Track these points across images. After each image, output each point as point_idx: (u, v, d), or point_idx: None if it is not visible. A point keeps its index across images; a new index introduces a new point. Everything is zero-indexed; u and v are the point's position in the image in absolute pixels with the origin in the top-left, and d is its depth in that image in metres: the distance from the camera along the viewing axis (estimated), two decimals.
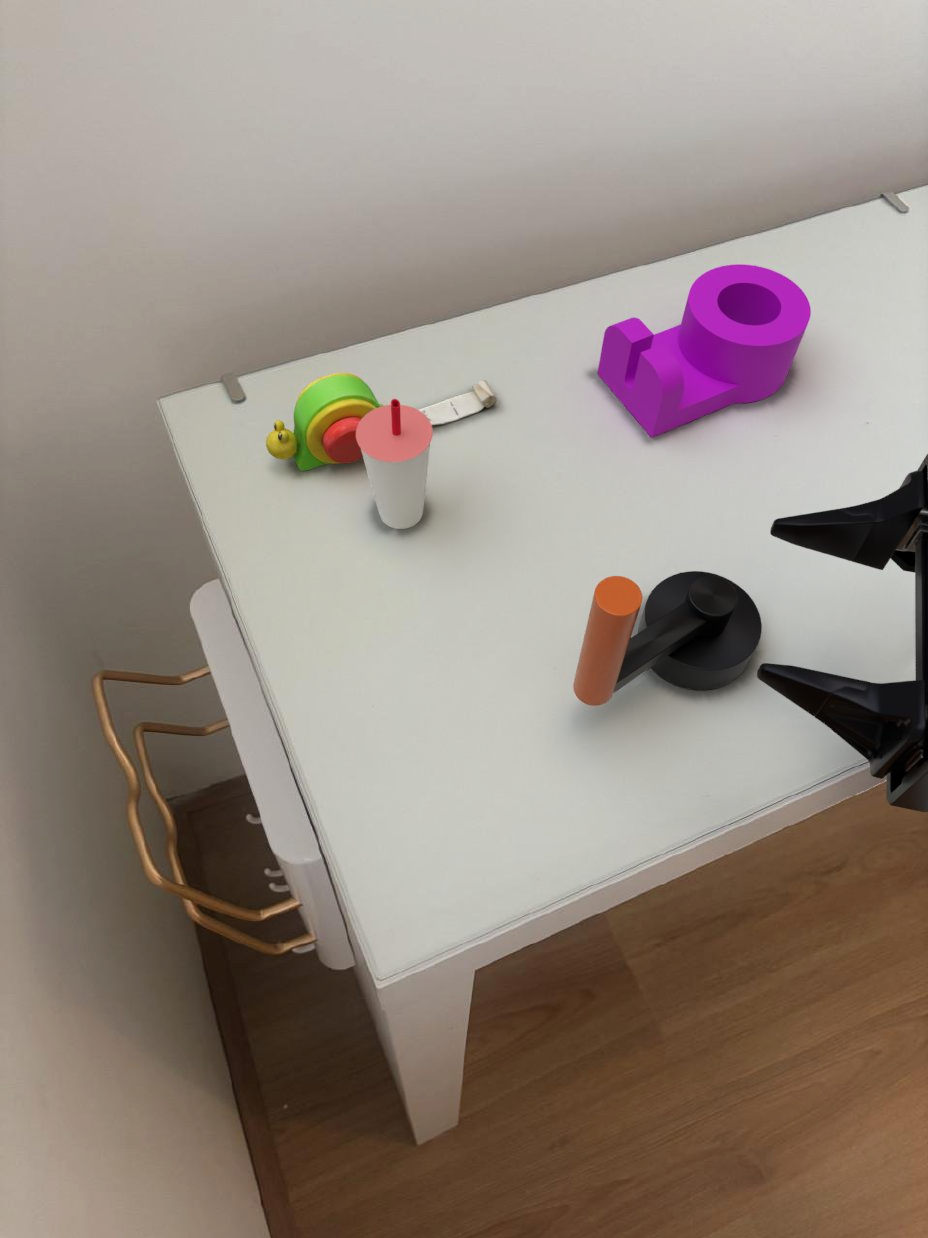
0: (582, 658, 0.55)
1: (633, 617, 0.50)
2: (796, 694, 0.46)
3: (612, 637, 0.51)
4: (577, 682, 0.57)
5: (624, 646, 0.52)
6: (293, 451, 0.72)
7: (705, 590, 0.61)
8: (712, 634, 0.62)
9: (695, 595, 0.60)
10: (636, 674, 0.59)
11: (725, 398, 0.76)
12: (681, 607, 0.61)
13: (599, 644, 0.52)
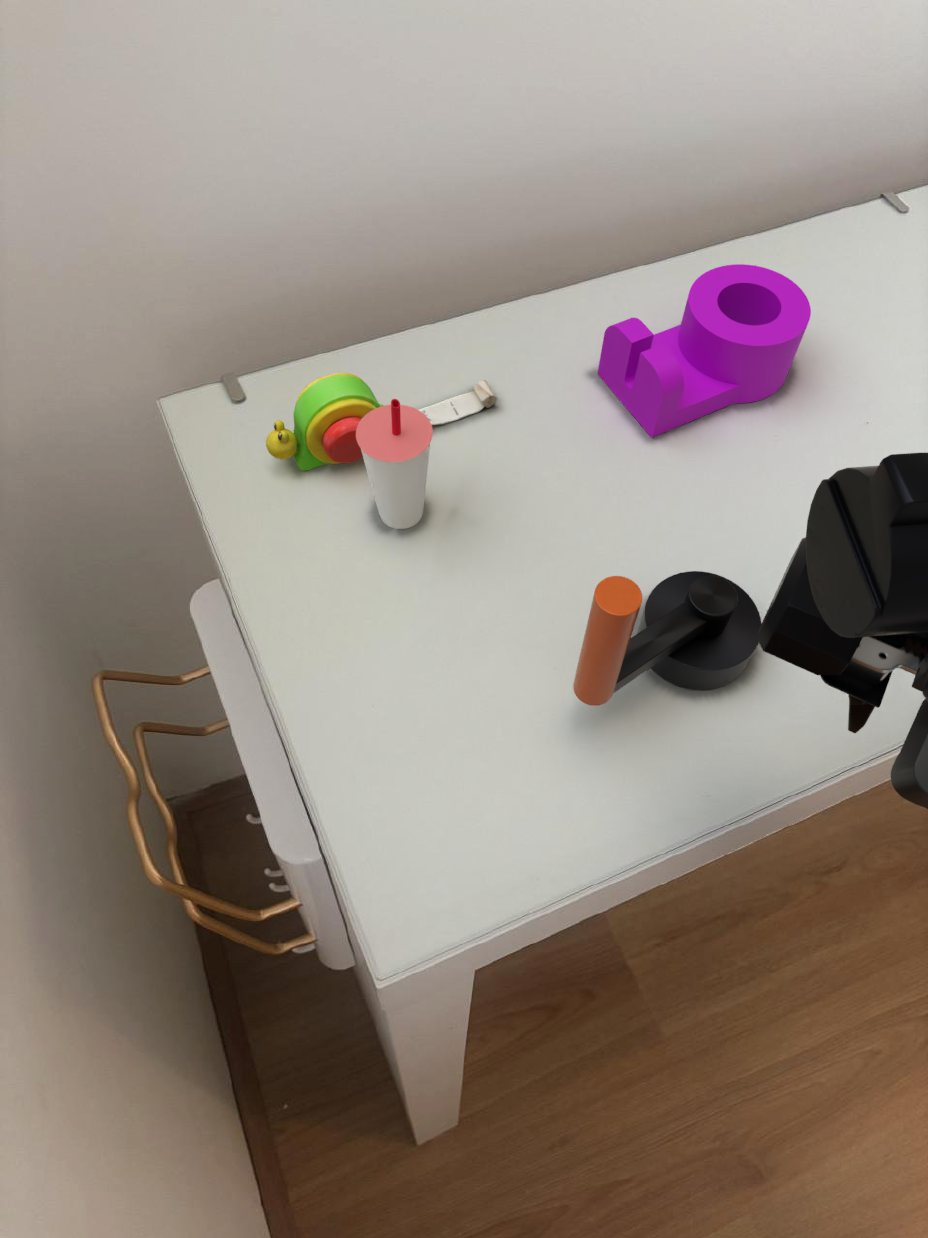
0: (582, 658, 0.55)
1: (633, 617, 0.50)
2: None
3: (612, 637, 0.51)
4: (577, 682, 0.57)
5: (624, 646, 0.52)
6: (293, 451, 0.72)
7: (705, 590, 0.61)
8: (712, 634, 0.62)
9: (695, 595, 0.60)
10: (636, 674, 0.59)
11: (725, 398, 0.76)
12: (681, 607, 0.61)
13: (599, 644, 0.52)
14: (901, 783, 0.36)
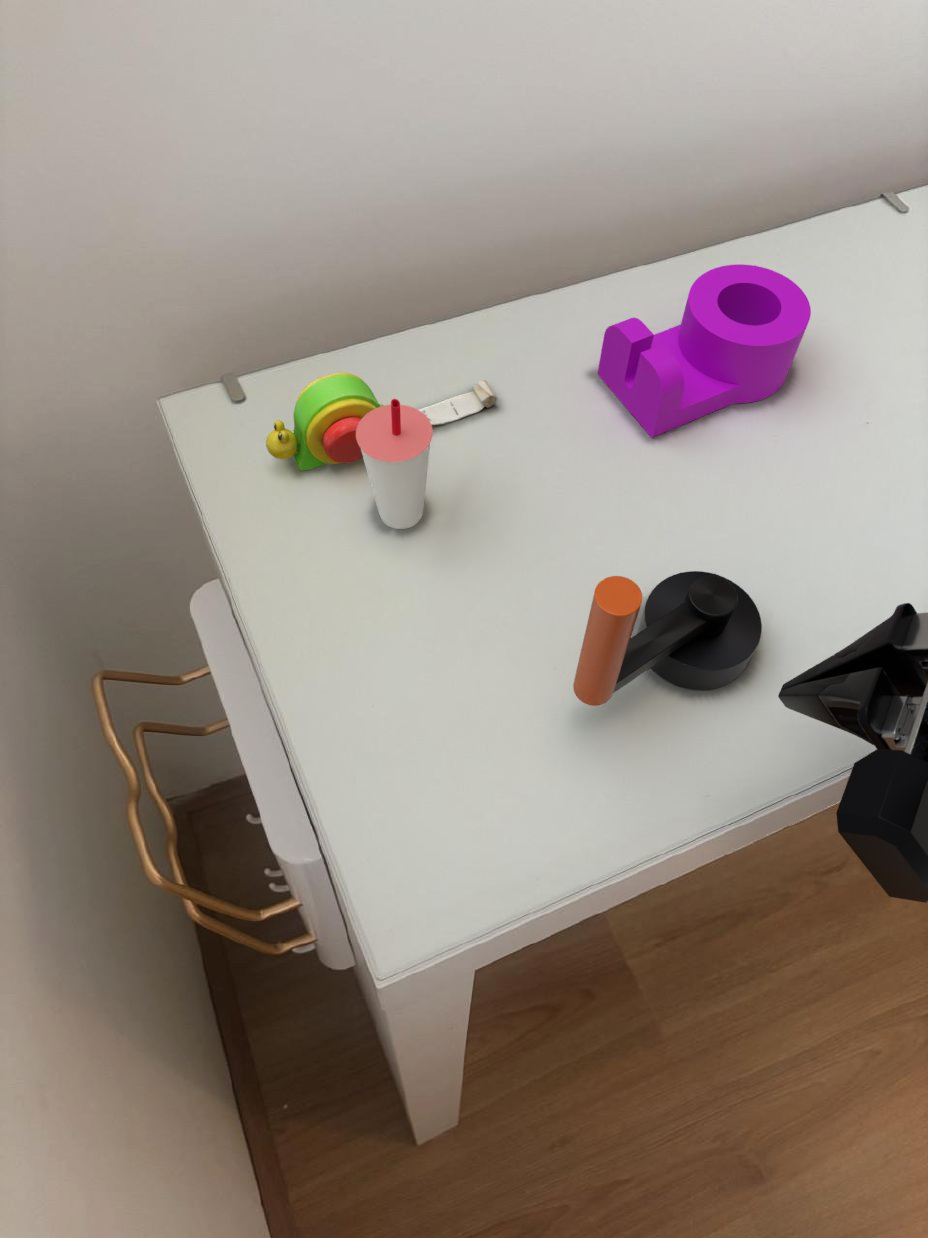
0: (582, 658, 0.55)
1: (633, 617, 0.50)
2: None
3: (612, 637, 0.51)
4: (577, 682, 0.57)
5: (624, 646, 0.52)
6: (293, 451, 0.72)
7: (705, 590, 0.61)
8: (712, 634, 0.62)
9: (695, 595, 0.60)
10: (636, 674, 0.59)
11: (725, 398, 0.76)
12: (681, 607, 0.61)
13: (599, 644, 0.52)
14: None
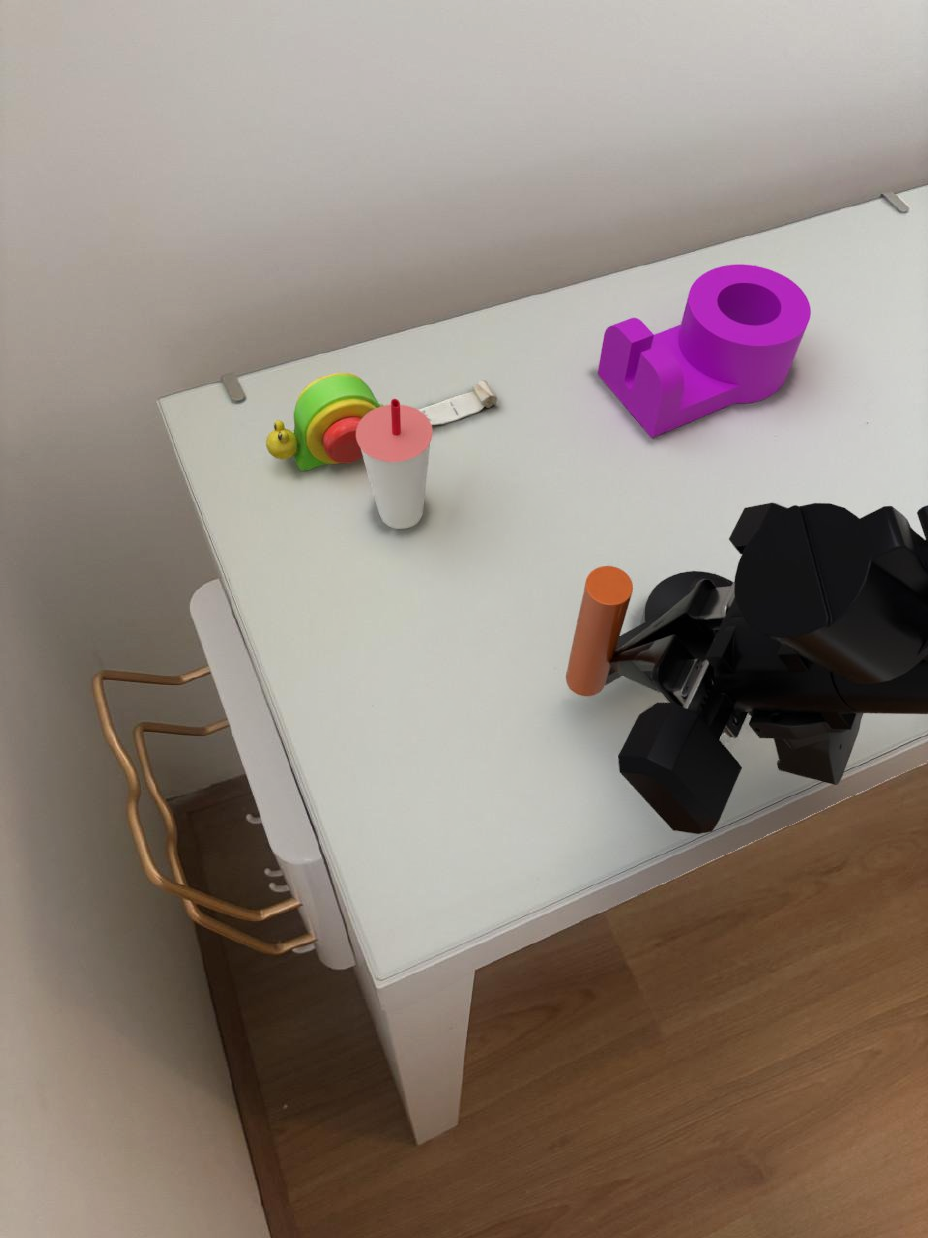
0: (573, 647, 0.55)
1: (622, 608, 0.50)
2: None
3: (601, 626, 0.51)
4: (569, 671, 0.58)
5: (614, 637, 0.53)
6: (293, 451, 0.72)
7: None
8: None
9: None
10: None
11: (725, 398, 0.76)
12: None
13: (589, 634, 0.52)
14: (803, 776, 0.51)
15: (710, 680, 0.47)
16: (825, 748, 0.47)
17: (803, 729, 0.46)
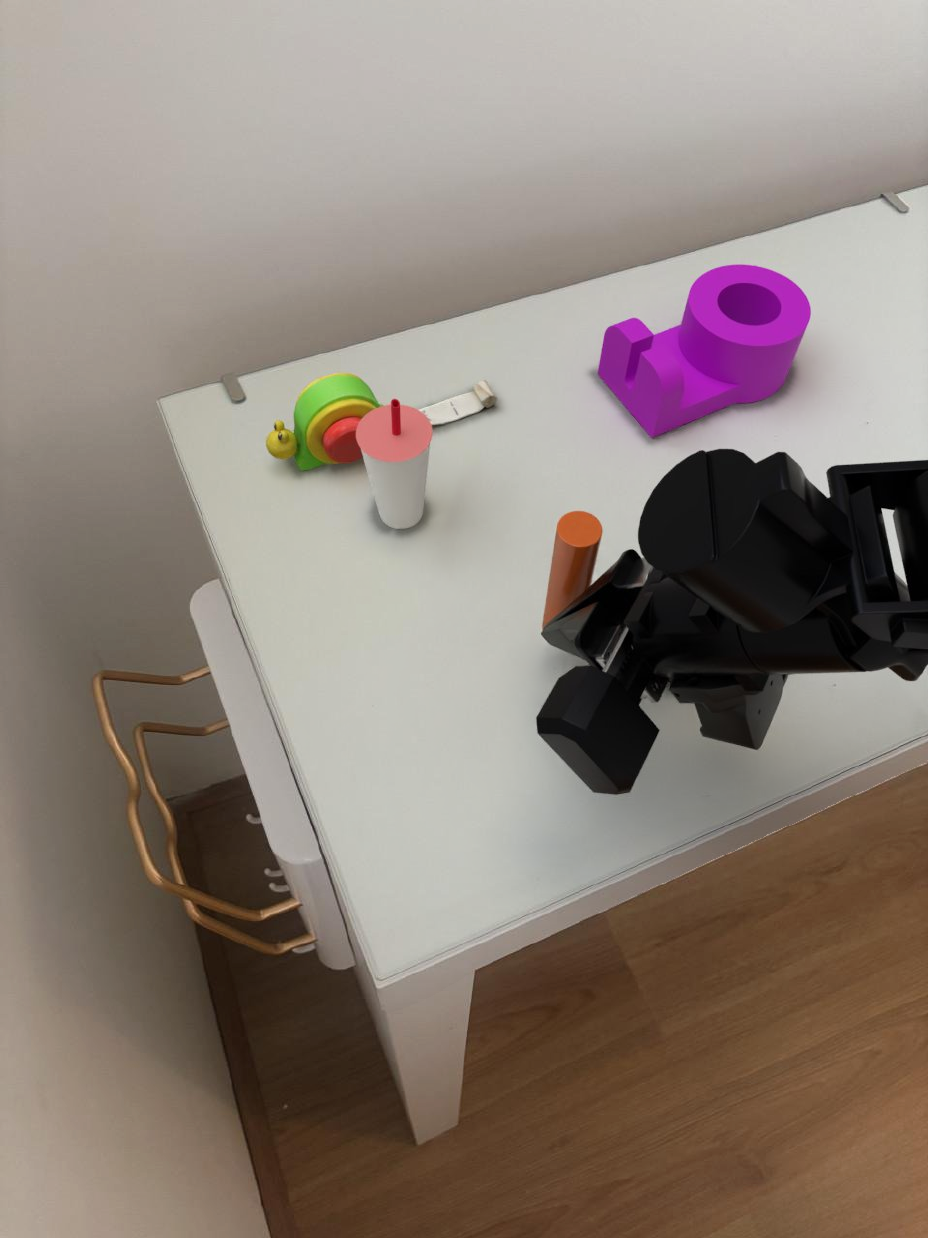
0: None
1: (584, 553, 0.52)
2: None
3: (564, 567, 0.53)
4: None
5: (578, 584, 0.55)
6: (293, 451, 0.72)
7: None
8: None
9: None
10: None
11: (725, 398, 0.76)
12: None
13: (555, 572, 0.55)
14: None
15: (630, 646, 0.48)
16: (742, 712, 0.48)
17: (719, 692, 0.47)
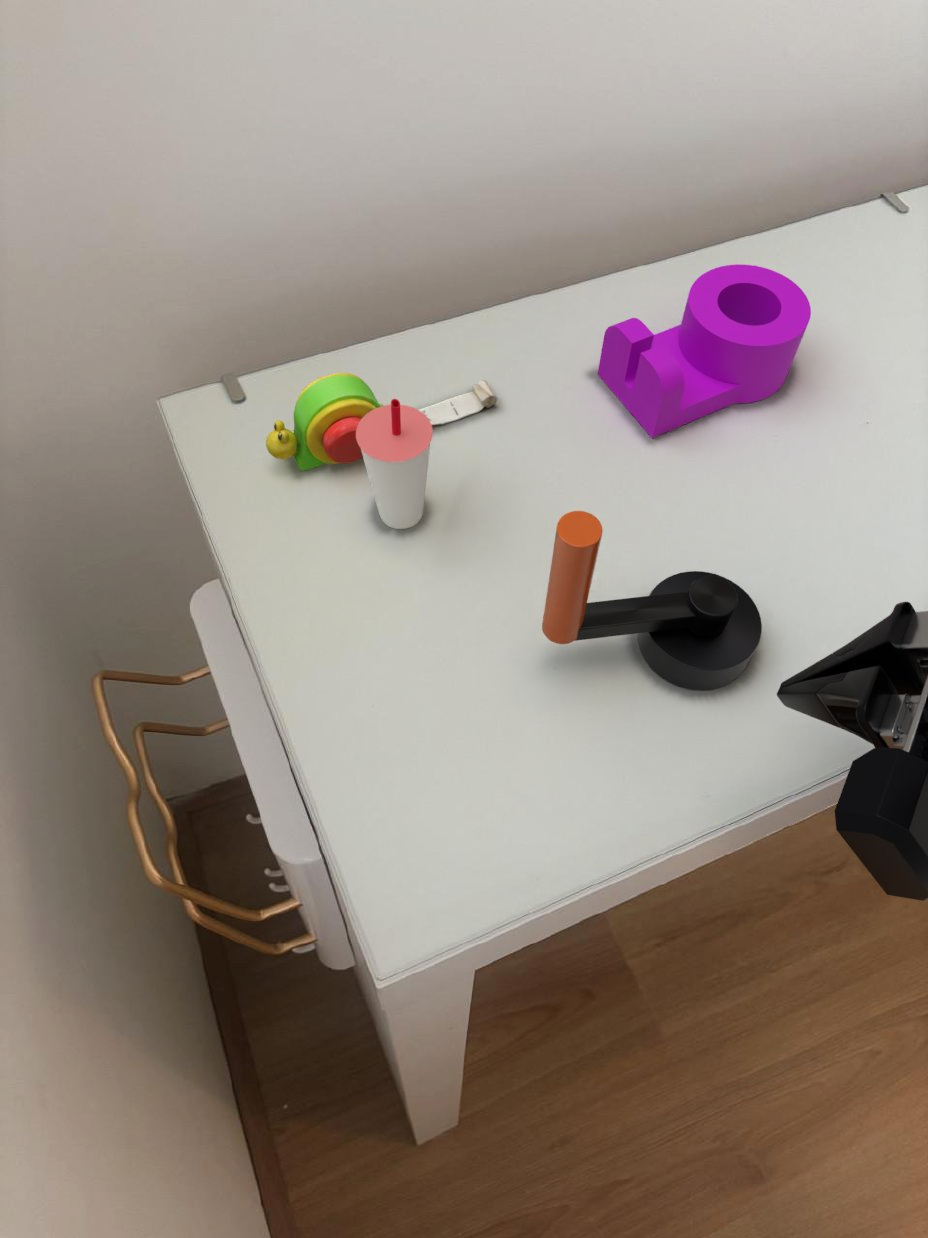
0: None
1: (584, 553, 0.52)
2: None
3: (564, 567, 0.53)
4: None
5: (578, 584, 0.55)
6: (293, 451, 0.72)
7: (708, 588, 0.61)
8: (700, 633, 0.62)
9: (696, 588, 0.61)
10: (605, 633, 0.61)
11: (725, 398, 0.76)
12: (679, 594, 0.61)
13: (555, 572, 0.55)
14: None
15: (927, 720, 0.41)
16: None
17: None
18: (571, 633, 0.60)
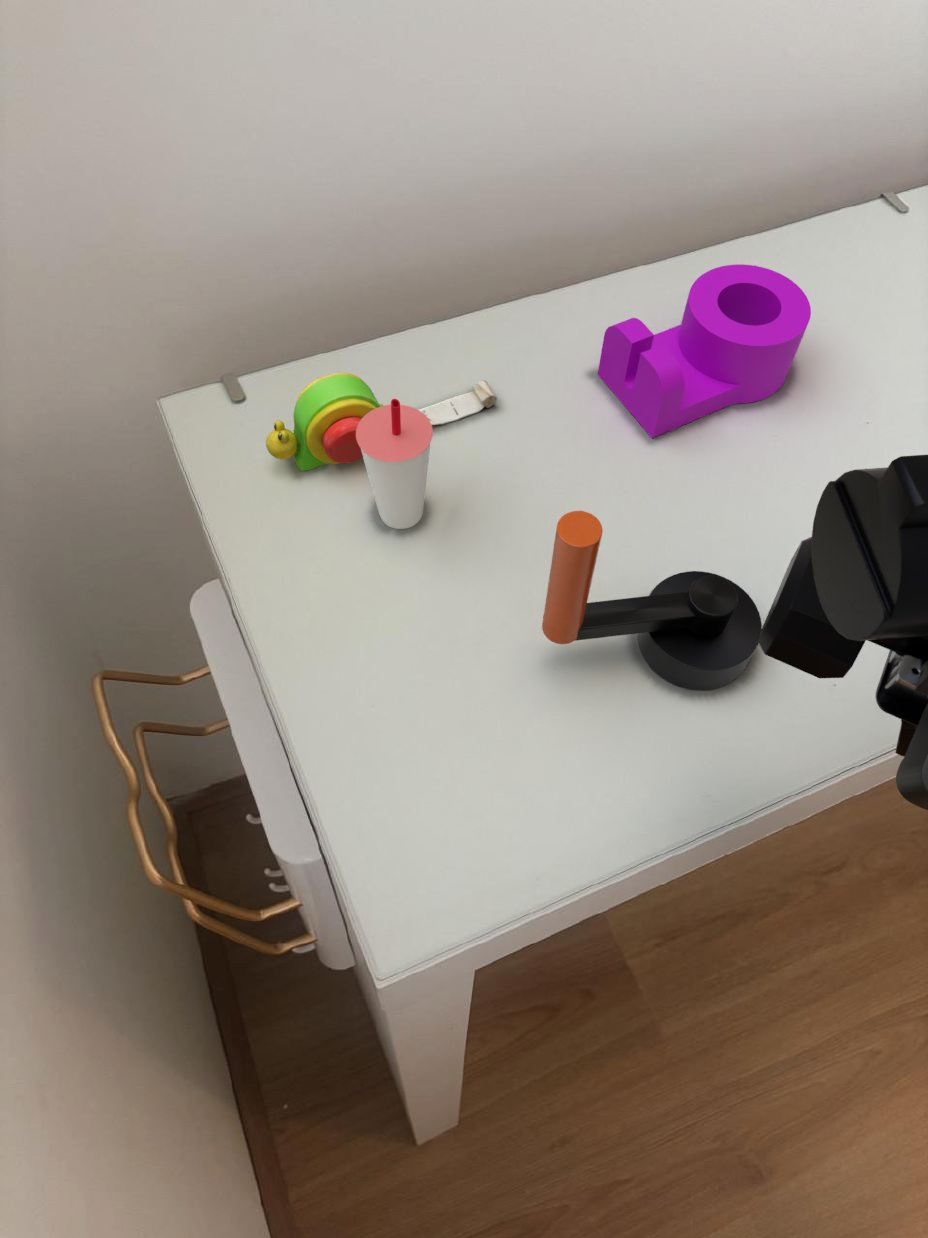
0: None
1: (584, 553, 0.52)
2: None
3: (564, 567, 0.53)
4: None
5: (578, 584, 0.55)
6: (293, 451, 0.72)
7: (708, 588, 0.61)
8: (700, 633, 0.62)
9: (696, 588, 0.61)
10: (605, 633, 0.61)
11: (725, 398, 0.76)
12: (679, 594, 0.61)
13: (555, 572, 0.55)
14: (907, 787, 0.36)
15: None
16: None
17: None
18: (571, 633, 0.60)
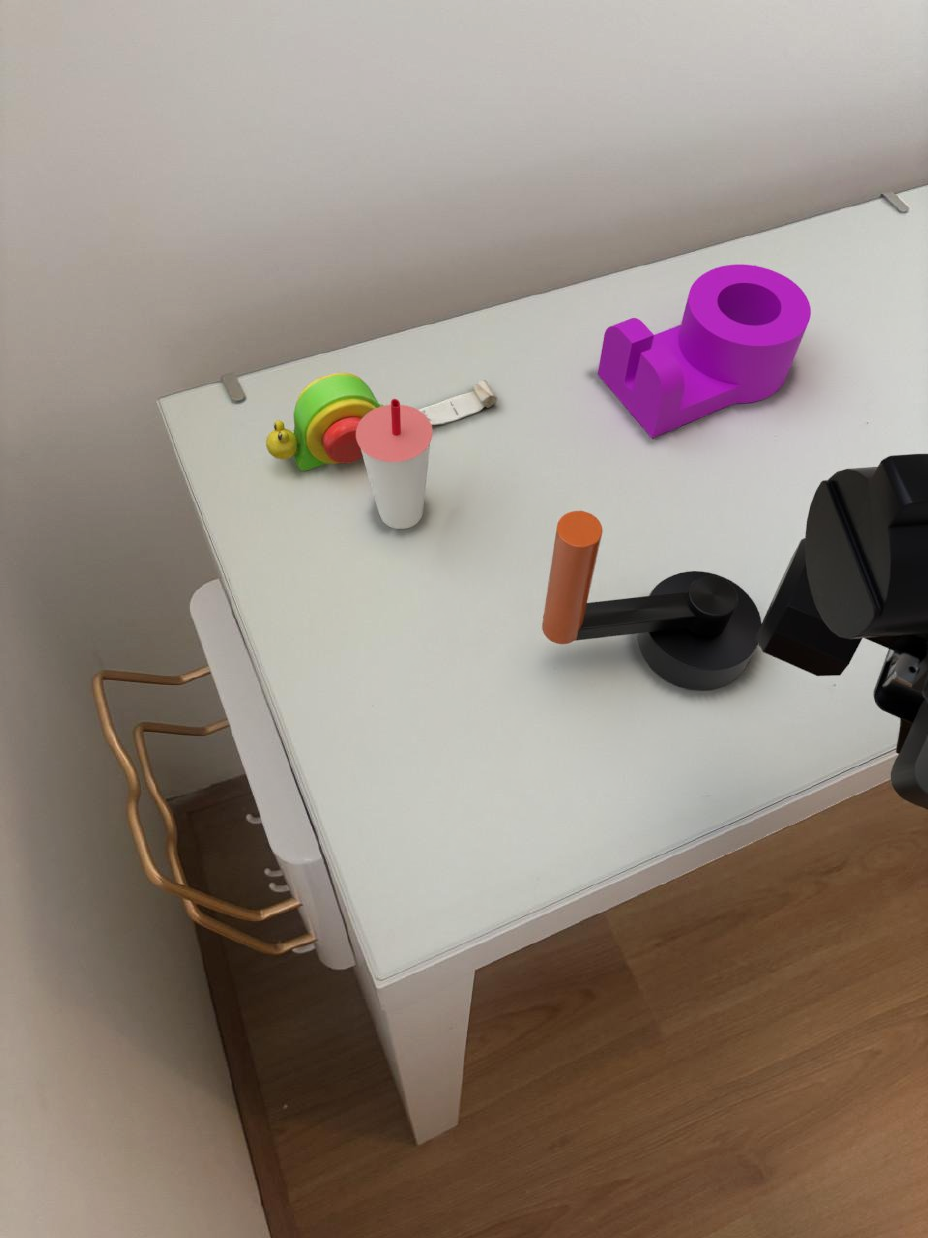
0: None
1: (584, 553, 0.52)
2: None
3: (564, 567, 0.53)
4: None
5: (578, 584, 0.55)
6: (293, 451, 0.72)
7: (708, 588, 0.61)
8: (700, 633, 0.62)
9: (696, 588, 0.61)
10: (605, 633, 0.61)
11: (725, 398, 0.76)
12: (679, 594, 0.61)
13: (555, 572, 0.55)
14: (901, 783, 0.36)
15: None
16: None
17: None
18: (571, 633, 0.60)
